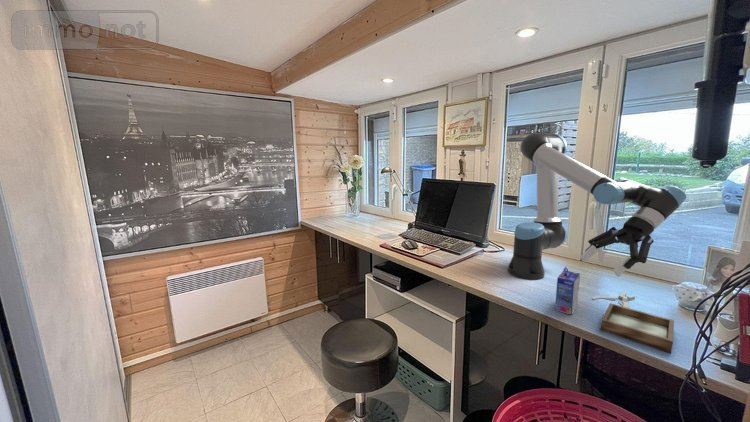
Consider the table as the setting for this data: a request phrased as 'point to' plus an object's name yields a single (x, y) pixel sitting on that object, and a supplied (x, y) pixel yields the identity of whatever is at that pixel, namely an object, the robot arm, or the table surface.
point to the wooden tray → (639, 327)
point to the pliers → (621, 297)
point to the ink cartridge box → (567, 291)
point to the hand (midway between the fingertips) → (597, 266)
